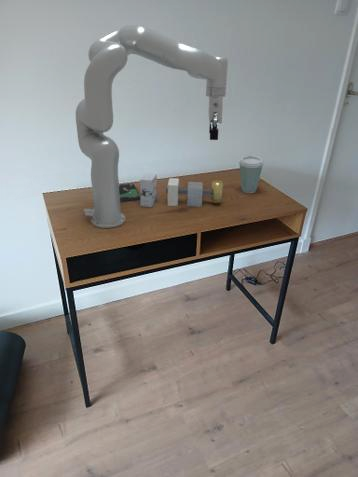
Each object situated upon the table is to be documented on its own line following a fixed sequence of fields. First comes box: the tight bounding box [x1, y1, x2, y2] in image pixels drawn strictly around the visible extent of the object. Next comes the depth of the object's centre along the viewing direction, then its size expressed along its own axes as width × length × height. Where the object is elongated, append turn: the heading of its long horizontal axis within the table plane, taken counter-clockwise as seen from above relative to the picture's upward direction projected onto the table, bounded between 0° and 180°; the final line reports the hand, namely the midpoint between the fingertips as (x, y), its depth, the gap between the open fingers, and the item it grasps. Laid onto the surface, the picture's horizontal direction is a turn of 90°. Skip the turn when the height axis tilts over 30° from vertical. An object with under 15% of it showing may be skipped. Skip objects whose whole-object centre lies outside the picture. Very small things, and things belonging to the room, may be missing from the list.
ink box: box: [139, 172, 158, 208], centre depth 150 cm, size 9×5×12 cm, turn 168°
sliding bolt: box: [165, 180, 224, 204], centre depth 151 cm, size 23×5×8 cm, turn 86°
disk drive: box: [119, 183, 141, 203], centre depth 159 cm, size 10×3×15 cm
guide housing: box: [186, 181, 204, 208], centre depth 152 cm, size 6×7×8 cm
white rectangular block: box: [167, 177, 180, 207], centre depth 152 cm, size 4×8×9 cm, turn 176°
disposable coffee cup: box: [238, 155, 264, 194], centre depth 163 cm, size 11×11×15 cm
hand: (213, 136), depth 149 cm, fingers open, 9 cm apart
